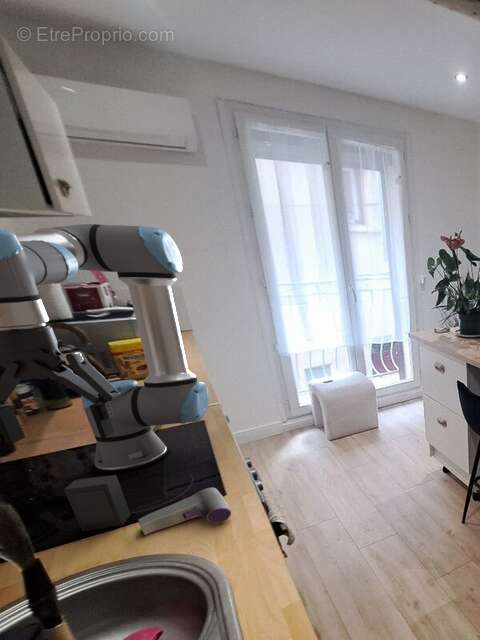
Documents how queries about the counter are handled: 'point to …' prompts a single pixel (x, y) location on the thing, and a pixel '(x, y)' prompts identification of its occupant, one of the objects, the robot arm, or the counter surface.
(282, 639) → the counter surface
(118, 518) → the block
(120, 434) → the robot arm
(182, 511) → the infrared thermometer
